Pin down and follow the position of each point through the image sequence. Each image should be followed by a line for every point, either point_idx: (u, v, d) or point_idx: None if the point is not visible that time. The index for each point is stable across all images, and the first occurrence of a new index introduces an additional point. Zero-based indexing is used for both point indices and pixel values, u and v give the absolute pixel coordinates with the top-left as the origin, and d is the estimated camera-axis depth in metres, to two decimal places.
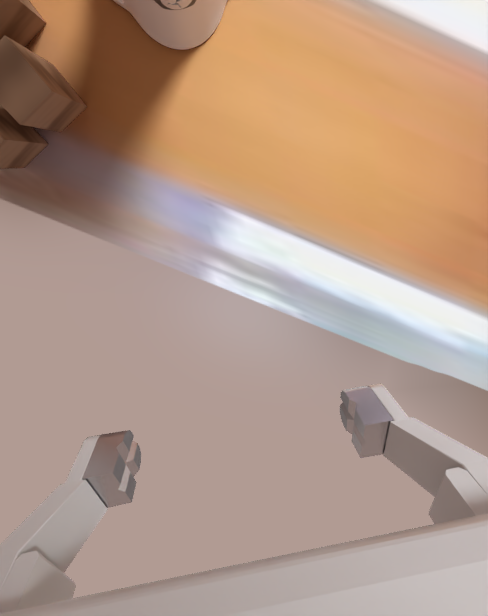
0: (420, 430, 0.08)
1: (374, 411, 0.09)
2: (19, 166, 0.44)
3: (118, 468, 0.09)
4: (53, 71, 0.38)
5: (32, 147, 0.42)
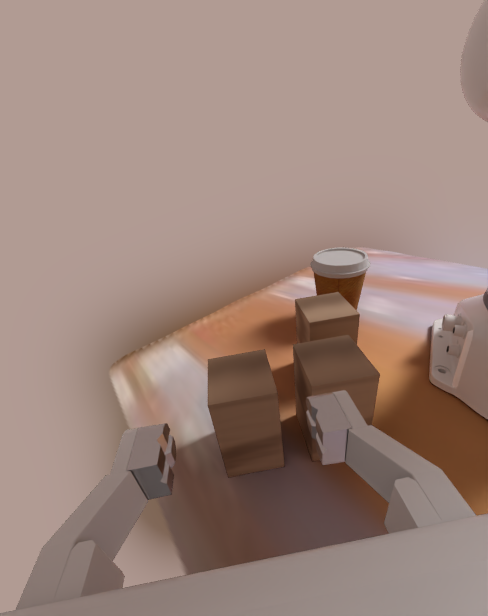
0: (376, 439, 0.08)
1: (334, 418, 0.09)
2: (228, 467, 0.27)
3: (160, 460, 0.09)
4: None
5: (272, 449, 0.27)
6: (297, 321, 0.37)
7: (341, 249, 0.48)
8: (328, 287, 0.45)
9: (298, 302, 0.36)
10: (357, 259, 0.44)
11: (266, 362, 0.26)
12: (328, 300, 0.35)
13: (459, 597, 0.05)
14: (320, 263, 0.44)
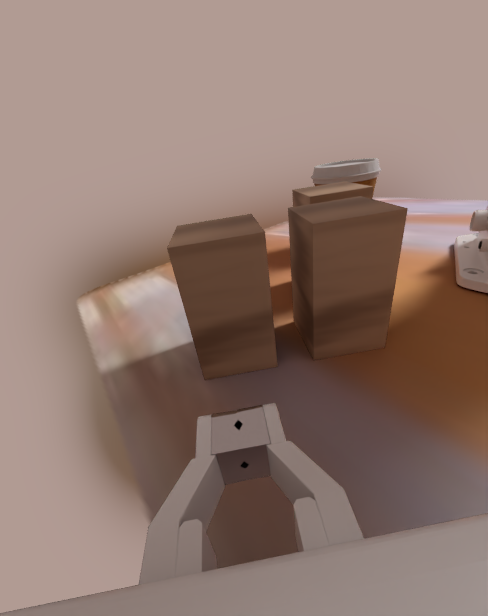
0: (290, 455, 0.08)
1: (256, 433, 0.09)
2: (204, 362, 0.21)
3: None
4: None
5: (260, 337, 0.20)
6: None
7: (347, 162, 0.42)
8: None
9: (296, 190, 0.29)
10: None
11: (252, 219, 0.20)
12: (333, 185, 0.29)
13: (459, 597, 0.05)
14: (322, 168, 0.37)
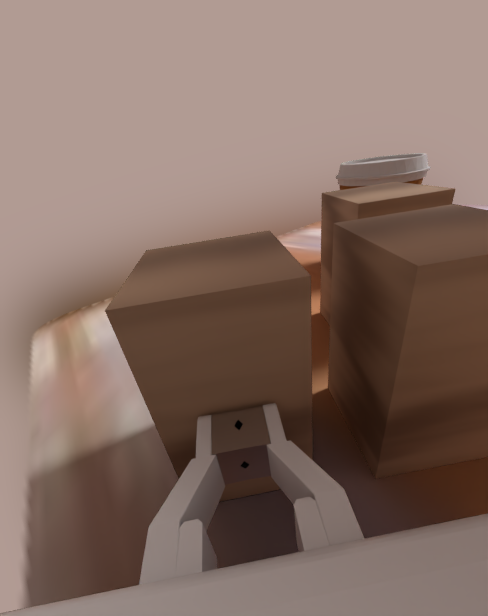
0: (290, 455, 0.08)
1: (256, 433, 0.09)
2: None
3: None
4: None
5: None
6: (324, 234, 0.22)
7: (380, 158, 0.33)
8: None
9: (328, 194, 0.20)
10: None
11: (274, 241, 0.11)
12: (382, 187, 0.20)
13: (459, 597, 0.05)
14: (354, 165, 0.29)
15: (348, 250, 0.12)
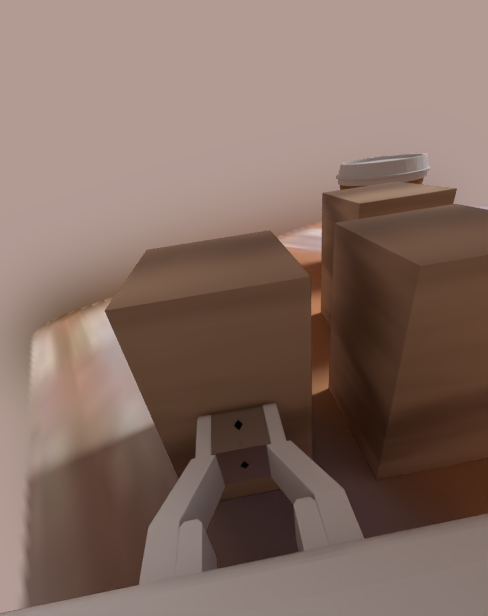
0: (290, 455, 0.08)
1: (256, 433, 0.09)
2: None
3: None
4: None
5: None
6: (325, 234, 0.22)
7: (380, 158, 0.33)
8: None
9: (329, 194, 0.20)
10: None
11: (274, 241, 0.11)
12: (383, 187, 0.20)
13: (459, 597, 0.05)
14: (354, 165, 0.28)
15: (349, 250, 0.12)
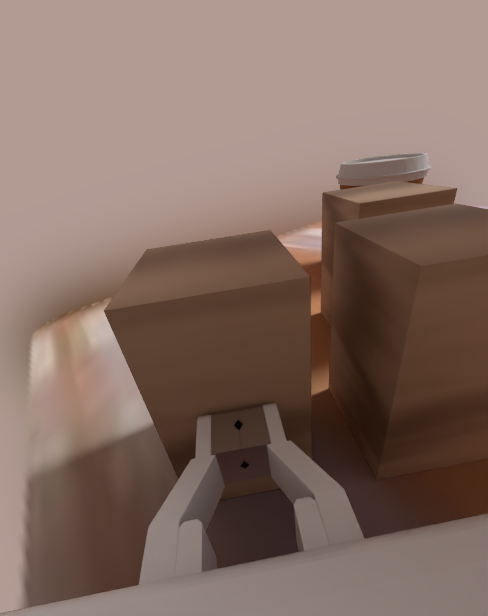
0: (290, 455, 0.08)
1: (256, 433, 0.09)
2: None
3: None
4: None
5: None
6: (325, 234, 0.22)
7: (380, 158, 0.33)
8: None
9: (329, 193, 0.20)
10: None
11: (274, 241, 0.11)
12: (383, 187, 0.20)
13: (459, 597, 0.05)
14: (354, 164, 0.28)
15: (350, 250, 0.12)
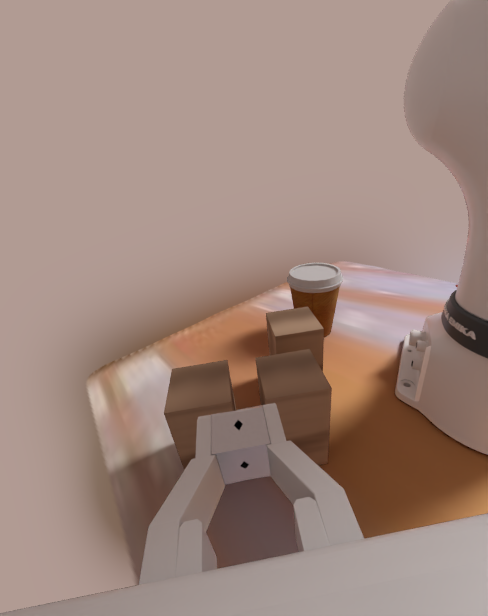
0: (290, 455, 0.08)
1: (256, 433, 0.09)
2: None
3: None
4: None
5: None
6: (268, 334, 0.38)
7: (317, 264, 0.50)
8: (303, 301, 0.46)
9: (268, 316, 0.37)
10: (330, 274, 0.45)
11: (226, 372, 0.28)
12: (297, 314, 0.36)
13: (459, 597, 0.05)
14: (295, 278, 0.45)
15: (258, 374, 0.28)
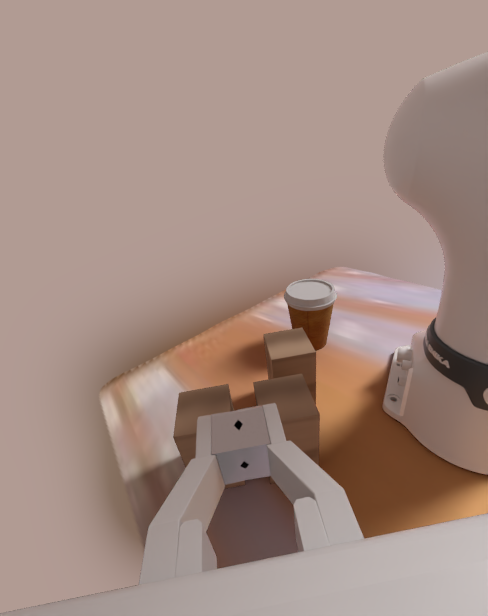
0: (290, 455, 0.08)
1: (256, 433, 0.09)
2: None
3: None
4: None
5: None
6: (266, 353, 0.42)
7: (313, 280, 0.53)
8: (299, 317, 0.49)
9: (265, 337, 0.40)
10: (325, 292, 0.48)
11: (227, 397, 0.31)
12: (292, 336, 0.39)
13: (459, 597, 0.05)
14: (291, 296, 0.48)
15: (256, 398, 0.31)
